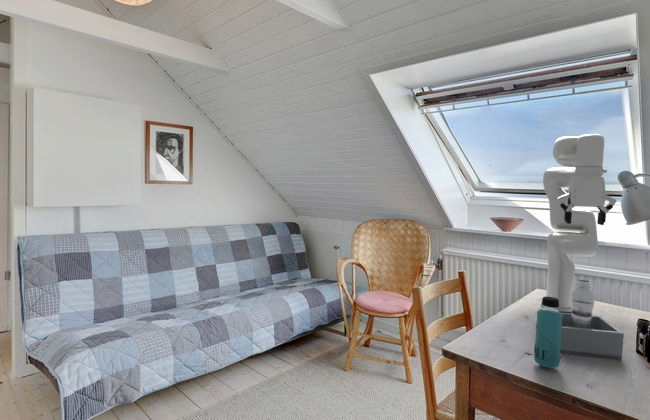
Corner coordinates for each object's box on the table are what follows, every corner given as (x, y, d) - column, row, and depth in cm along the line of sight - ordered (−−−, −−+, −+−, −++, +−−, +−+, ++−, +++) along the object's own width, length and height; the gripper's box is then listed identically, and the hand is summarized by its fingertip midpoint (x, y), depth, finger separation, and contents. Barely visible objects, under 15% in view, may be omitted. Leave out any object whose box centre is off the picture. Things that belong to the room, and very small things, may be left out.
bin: (542, 334, 134) (543, 311, 133) (598, 339, 130) (600, 316, 129) (557, 352, 119) (559, 327, 119) (621, 359, 116) (623, 333, 115)
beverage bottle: (562, 367, 110) (567, 297, 108) (556, 376, 105) (561, 303, 103) (536, 360, 114) (540, 292, 113) (530, 367, 109) (534, 297, 108)
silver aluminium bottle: (570, 345, 122) (575, 282, 121) (564, 337, 129) (569, 277, 127) (594, 348, 121) (599, 284, 119) (587, 340, 127) (592, 279, 125)
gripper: (612, 173, 132) (608, 223, 133) (555, 172, 136) (551, 221, 137) (623, 172, 124) (619, 226, 126) (563, 172, 128) (559, 224, 130)
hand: (584, 223), depth 131 cm, fingers open, 9 cm apart
